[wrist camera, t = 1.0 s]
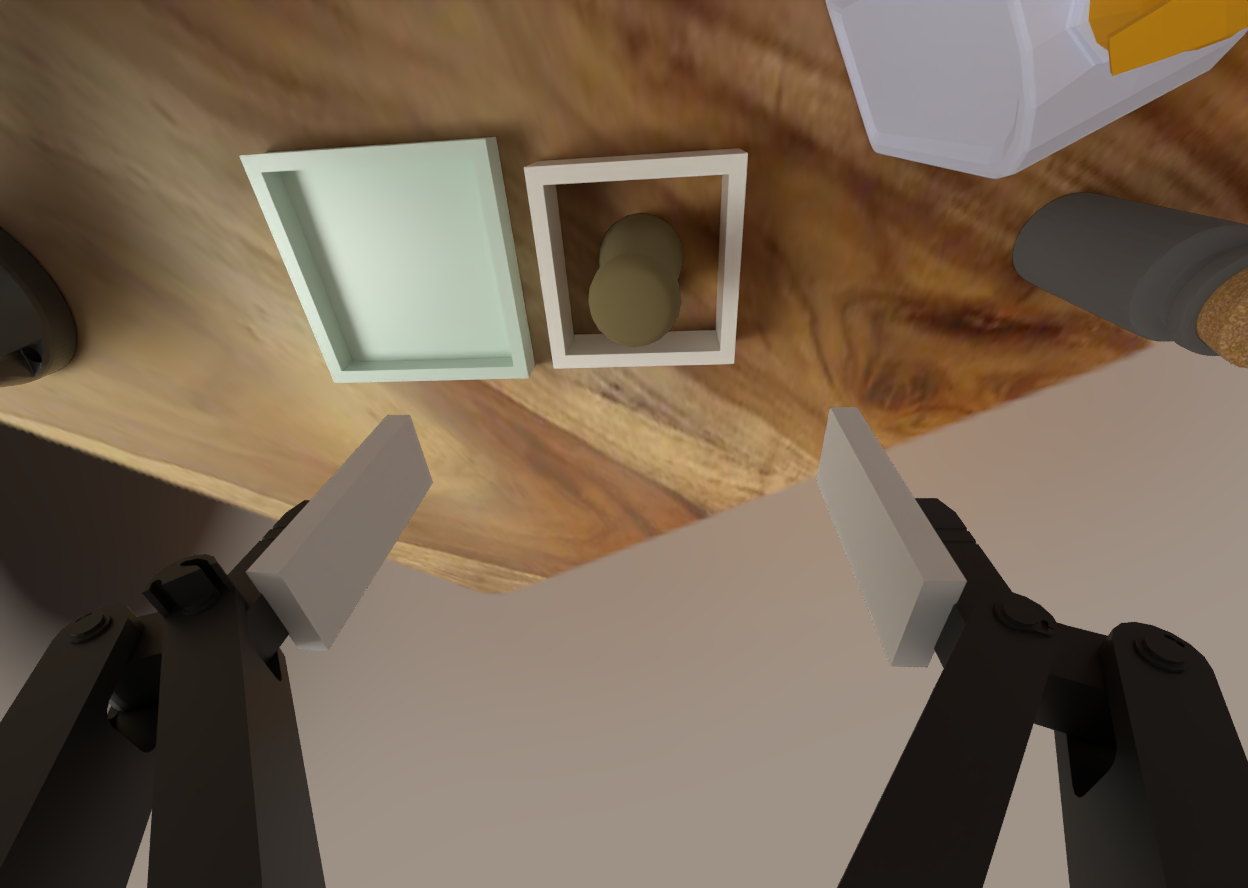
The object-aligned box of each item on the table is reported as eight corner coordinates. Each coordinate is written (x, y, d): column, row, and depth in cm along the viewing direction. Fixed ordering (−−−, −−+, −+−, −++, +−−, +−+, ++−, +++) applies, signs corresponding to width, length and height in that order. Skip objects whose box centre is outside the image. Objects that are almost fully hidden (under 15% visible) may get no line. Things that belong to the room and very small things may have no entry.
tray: (349, 369, 43) (334, 382, 41) (264, 152, 34) (239, 155, 32) (535, 364, 41) (528, 378, 39) (495, 136, 32) (485, 138, 30)
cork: (692, 286, 37) (702, 345, 28) (615, 310, 38) (600, 374, 29) (670, 200, 34) (672, 235, 25) (586, 230, 35) (559, 273, 26)
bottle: (1001, 228, 33) (1199, 300, 21) (1103, 171, 31) (1392, 213, 19) (1022, 300, 36) (1211, 403, 24) (1118, 251, 34) (1382, 336, 21)
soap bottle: (807, 3, 28) (1113, -217, 9) (941, -95, 26) (1748, -677, 7) (860, 160, 32) (1148, 242, 13) (980, 89, 30) (1550, 59, 11)
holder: (562, 346, 40) (553, 368, 37) (537, 161, 33) (523, 167, 30) (728, 342, 39) (733, 363, 36) (739, 148, 32) (747, 153, 29)
